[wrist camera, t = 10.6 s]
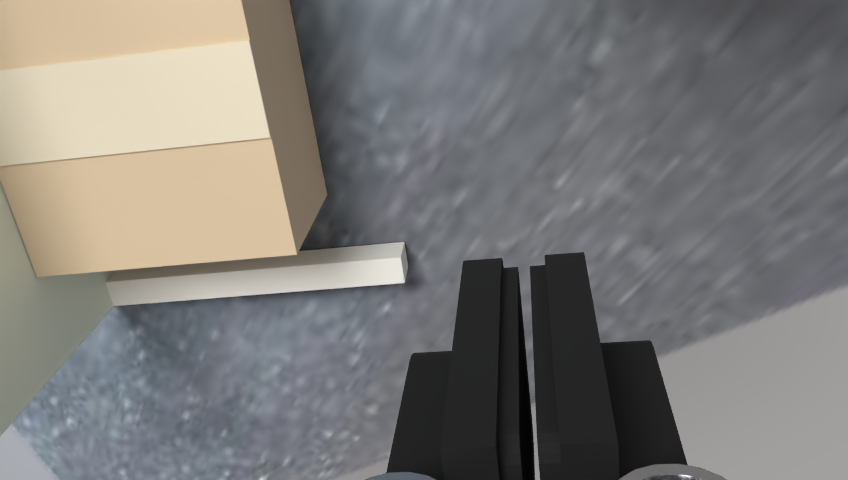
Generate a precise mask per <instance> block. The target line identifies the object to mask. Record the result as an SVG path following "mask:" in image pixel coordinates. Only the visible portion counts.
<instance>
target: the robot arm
mask: <svg viewBox="0 0 848 480" xmlns="http://www.w3.org/2000/svg"><path fill="white" fill-rule="evenodd" d="M530 278H531V302H532V327H533V351H534V375H535V400H536V421H537V422H536V423H537V441H538V456H539V470H540V480H726V479H725V478H723V477H722V476H720V475H717V474H715V473H712V472H710V471H707V470H705V469H702V468H698V467H693V466H688V465H687V461H686V458H685V455H684V451H683V448H682V444H681V441H680V437H679V434H678V430H677V427H676V423H675V420H674V416H673V413H672V410H671V406H670V403H669V399H668V396H667V392H666V389H665V385H664V382H663V378H662V375H661V371H660V368H659V364H658V361H657V357H656V354H655V351H654V347H653V345H652V342H651V341H630V342H611V343H600V339H599V333H598V327H597V322H596V316H595V311H594V305H593V300H592V294H591V289H590V283H589V278H588V272H587V267H586V261H585V255H584V252H582V253H567V254H553V255H545V265H541V266H530ZM366 480H535V470H534V443H533V427H532V415H531V404H530V393H529V382H528V371H527V360H526V349H525V338H524V327H523V316H522V305H521V294H520V283H519V273H518V267H512V268H504V267H503V261H502V258H497V259H483V260H468V261H463V267H462V275H461V283H460V291H459V299H458V307H457V315H456V323H455V331H454V339H453V347H452V351H443V352H425V353H414V354H412V356H411V359H410V362H409V367H408V372H407V376H406V381H405V386H404V391H403V396H402V401H401V405H400V410H399V415H398V420H397V425H396V429H395V434H394V439H393V444H392V449H391V454H390V458H389V463H388V468H387V473H386V474H382V475H378V476H374V477H370V478H368V479H366Z"/></svg>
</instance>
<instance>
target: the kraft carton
mask: <svg viewBox="0 0 848 480" xmlns="http://www.w3.org/2000/svg"><path fill="white" fill-rule="evenodd" d="M0 181H1V183H2V186H3V189H4V191H5V194H6V197H7V199H8V202H9V205H10V207H11V210H12V212H13V215H14V218H15V220H16V223H17V226H18V228H19V231H20V234H21V236H22V239H23V242H24V244H25V247H26V250H27V252H28V255H29V258H30V260H31V263H32V266H33V268H34V271H35V274H36V276H37V277H44V276H56V275H67V274H79V273H90V272H102V271H114V270H125V269H137V268H149V267H160V266H172V265H183V264H195V263H207V262H218V261H230V260H242V259H253V258H265V257H276V256H288V255H297V254H298V252H299V250H300V248H301V246H302V244H303V242H304V240H305V238H306V236H307V234H308V232H309V230H310V228H311V226H312V224H313V222H314V220H315V218H316V216H317V214H318V212H319V210H320V208H321V206H322V204H323V202H324V201H325V199H326V197H327V191H326V186H325V181H324V176H323V170H322V165H321V160H320V155H319V150H318V145H317V140H316V134H315V129H314V124H313V119H312V114H311V109H310V104H309V99H308V93H307V88H306V83H305V78H304V73H303V68H302V63H301V58H300V52H299V47H298V42H297V37H296V32H295V27H294V22H293V16H292V11H291V6H290V1H289V0H0Z"/></svg>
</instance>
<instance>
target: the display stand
mask: <svg viewBox="0 0 848 480" xmlns="http://www.w3.org/2000/svg"><path fill="white" fill-rule="evenodd" d="M407 270H408V262H407V256H406V249H405V243H404V242H398V243H387V244H375V245H364V246H352V247H340V248H329V249H317V250H306V251H299V252H298V254H297V255H288V256H276V257H265V258H253V259H242V260H230V261H218V262H207V263H195V264H183V265H172V266H160V267H149V268H137V269H125V270H114V271H102V272H90V273H79V274H67V275H56V276H44V277H37V276H36V274H35V271H34V268H33V266H32V263H31V260H30V258H29V255H28V252H27V250H26V247H25V244H24V242H23V239H22V236H21V234H20V231H19V228H18V226H17V223H16V220H15V218H14V215H13V212H12V210H11V207H10V205H9V202H8V199H7V197H6V194H5V191H4V189H3V186H2V183H1V181H0V436H1V435H2V434H3V433H4V432H5V430H6V429H7V428H8V427H9V426H10V425H11V424H12V422H13V421H14V420H15V419H16V418H17V417H18V416H19V414H20V413H21V412H22V411H23V410H24V409H25V407H26V406H27V405H28V404H29V403H30V402H31V401H32V399H33V398H34V397H35V396H36V395H37V394H38V393H39V391H40V390H41V389H42V388H43V387H44V386H45V385H46V383H47V382H48V381H49V380H50V379H51V378H52V377H53V375H54V374H55V373H56V372H57V371H58V370H59V368H60V367H61V366H62V365H63V364H64V363H65V362H66V360H67V359H68V358H69V357H70V356H71V355H72V354H73V352H74V351H75V350H76V349H77V348H78V347H79V346H80V344H81V343H82V342H83V341H84V340H85V339H86V338H87V336H88V335H89V334H90V333H91V332H92V331H93V329H94V328H95V327H96V326H97V325H98V324H99V323H100V321H101V320H102V319H103V318H104V317H105V316H106V315H107V313H108V312H109V311H110V310H111V309H112V308H113V307H114V306H122V305H134V304H147V303H160V302H172V301H185V300H197V299H210V298H222V297H235V296H247V295H260V294H273V293H285V292H298V291H310V290H323V289H335V288H348V287H360V286H373V285H385V284H398V283H405V280H406V275H407Z"/></svg>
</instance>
